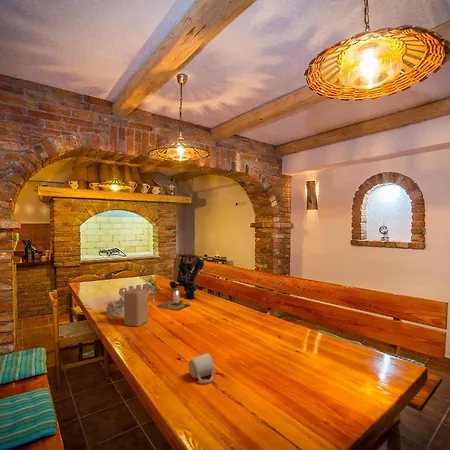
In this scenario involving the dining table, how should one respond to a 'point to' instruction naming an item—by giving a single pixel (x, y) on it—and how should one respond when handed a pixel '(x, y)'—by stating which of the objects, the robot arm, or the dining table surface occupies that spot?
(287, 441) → the dining table surface
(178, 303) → the shiny metal cylinder
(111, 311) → the ceramic cottage
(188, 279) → the robot arm
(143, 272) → the dried plant
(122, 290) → the goblet set
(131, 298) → the wooden block
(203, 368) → the ceramic mug
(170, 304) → the dark grey flat slab
